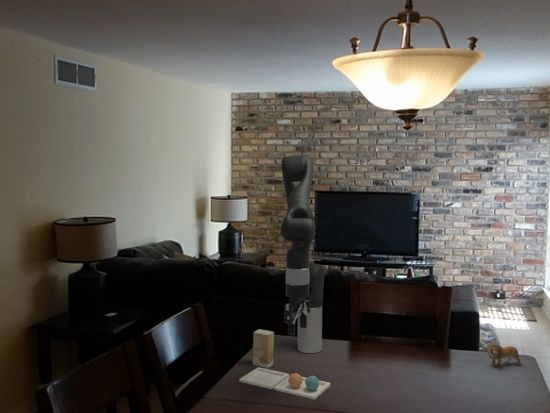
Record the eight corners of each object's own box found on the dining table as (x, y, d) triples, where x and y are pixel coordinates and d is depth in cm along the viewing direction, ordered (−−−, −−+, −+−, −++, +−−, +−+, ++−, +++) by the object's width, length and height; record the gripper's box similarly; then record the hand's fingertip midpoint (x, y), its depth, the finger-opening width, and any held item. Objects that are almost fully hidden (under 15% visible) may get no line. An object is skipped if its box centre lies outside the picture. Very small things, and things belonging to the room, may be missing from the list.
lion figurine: (493, 371, 194) (494, 346, 193) (482, 366, 199) (483, 341, 198) (524, 365, 200) (526, 340, 199) (512, 360, 205) (514, 336, 204)
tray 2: (291, 378, 187) (291, 374, 187) (330, 386, 180) (330, 383, 180) (274, 391, 177) (274, 387, 177) (314, 400, 170) (314, 396, 170)
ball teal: (308, 385, 180) (309, 372, 179) (321, 388, 178) (321, 375, 177) (302, 390, 176) (302, 377, 176) (315, 393, 174) (315, 380, 173)
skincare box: (252, 365, 198) (252, 331, 197) (258, 361, 202) (258, 328, 201) (268, 369, 195) (268, 334, 194) (274, 365, 199) (274, 331, 198)
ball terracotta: (293, 379, 182) (290, 369, 180) (305, 381, 180) (303, 371, 178) (287, 389, 179) (284, 378, 177) (299, 392, 177) (297, 381, 175)
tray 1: (258, 370, 193) (258, 367, 193) (289, 377, 188) (289, 373, 188) (239, 382, 183) (239, 379, 183) (271, 390, 177) (271, 386, 177)
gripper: (297, 275, 185) (296, 323, 186) (276, 284, 172) (276, 336, 174) (317, 278, 181) (317, 327, 183) (298, 287, 169) (297, 340, 170)
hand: (297, 331), depth 178 cm, fingers open, 8 cm apart
